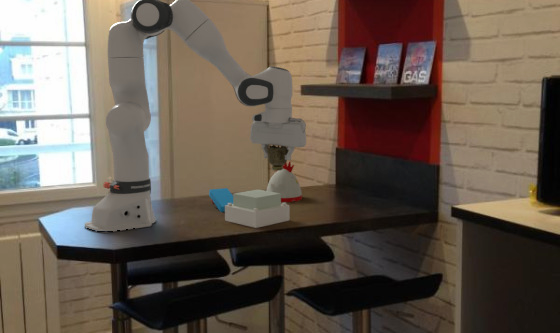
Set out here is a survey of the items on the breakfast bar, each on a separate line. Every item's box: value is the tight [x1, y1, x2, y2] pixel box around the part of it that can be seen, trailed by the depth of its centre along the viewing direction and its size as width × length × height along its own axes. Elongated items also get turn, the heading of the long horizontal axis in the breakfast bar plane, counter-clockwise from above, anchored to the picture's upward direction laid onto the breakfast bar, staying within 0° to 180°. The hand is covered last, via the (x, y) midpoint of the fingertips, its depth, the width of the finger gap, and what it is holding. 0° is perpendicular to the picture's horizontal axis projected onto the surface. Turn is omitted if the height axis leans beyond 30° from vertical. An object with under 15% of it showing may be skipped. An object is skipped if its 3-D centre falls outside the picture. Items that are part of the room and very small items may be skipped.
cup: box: [267, 145, 289, 171], centre depth 211 cm, size 8×7×8 cm
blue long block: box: [208, 187, 233, 213], centre depth 233 cm, size 7×7×18 cm
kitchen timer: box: [266, 161, 303, 203], centre depth 247 cm, size 14×14×15 cm
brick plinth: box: [224, 189, 291, 229], centre depth 209 cm, size 15×15×9 cm
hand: (277, 158), depth 211 cm, fingers closed on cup, 7 cm apart
